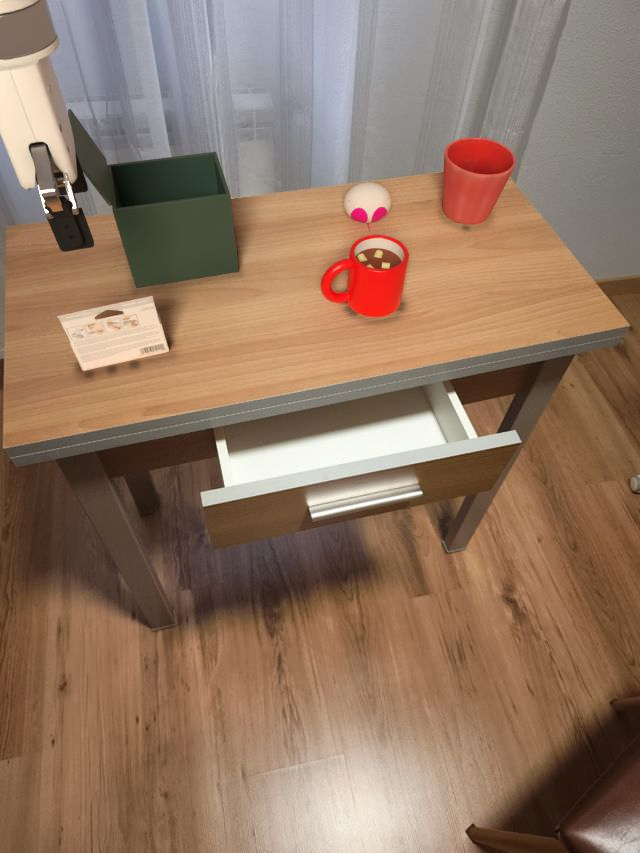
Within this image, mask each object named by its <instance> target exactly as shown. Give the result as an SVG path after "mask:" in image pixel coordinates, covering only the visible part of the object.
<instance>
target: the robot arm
mask: <svg viewBox="0 0 640 853" xmlns="http://www.w3.org/2000/svg"><path fill="white" fill-rule="evenodd" d="M59 46H60V39H59V35H58V32H57V29H56V26H55V22H54V20H53V16H52V13H51V10H50V7H49V3H48V0H0V137H1V139H2V142H3V145H4V148H5V150H6V153H7V155H8V157H9V159H10V163H11V165H12V167H13V170H14V172H15V175H16V177H17V180H18V182H19V185H20V186H21V187H22V188H23V189H24V190H26V191H31V189H35V188H36V186H37V189H38V193H39V195H40V199H41V203H42V207H43V209H44V213H45V218H46V220H47V222H48V224H49V227H50V229H51V232H52V234H53V236H54V238H55V240H56V243H57V245H58V248H59V250H60V251H61V252H64V253H66V252H72V251H78V250H85V249H92V248H93V247H95V240H94V237H93V234H92V232H91V229H90V227H89V224H88V221H87V218H86V214H85V212H84V209H83V207H79V205H78V201H77V198H76V194H80V193H86V192H88V190H89V185H88V183H87V180H86V177H85V176H86V175H85V174H84V173H83V171H82V168H81V165H80V162H79V159H78V156H77V153H75V144H74V137H73V133H72V128H71V124H70V120H69V116H68V109H67V106H66V103H65V99H64V97H63V96H64V95H63V93H62V90H61V87H60V84H59V80H58V78H57V75H56V72H55V69H54V66H53V63H52V60H51V57H50V55H52V54H53V53H55V52H56V50H57V49H58V48H59ZM66 196H67V197H66Z"/></svg>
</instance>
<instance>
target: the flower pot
mask: <svg viewBox="0 0 640 853" xmlns="http://www.w3.org/2000/svg"><path fill="white" fill-rule="evenodd" d="M515 167H516V157H515V154H514V153H513V152H512V150H511V149H510V148H509V147H507V146H506V145H504V144H502V143H500V142H499V141H496V140H493V139H489V138H484V137H464V138H459V139H456V140H453V141H452V142H450V143H449V144H448V145H447V146H446V147H445V149H444V153H443V170H442V171H443V172H442V174H443V176H442V211H443V213H444V215H445V216H446V217H447V218H449V219H450V220H452V221H453V222H455V223H461V224H463V225H471V226H472V225H478V224H482V223H484V222H485V221H487V220H488V218H489V217H490V216H491V213H492V211H493V210H494V208H495V206H496V204H497V202H498V200H499V199H500V197H501V195H502V194H503V191H504V189H505V187H506V185H507V183H508V181H509V179H510V177H511V175H512V173H513V171H514V169H515Z"/></svg>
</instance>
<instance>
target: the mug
mask: <svg viewBox="0 0 640 853" xmlns="http://www.w3.org/2000/svg"><path fill="white" fill-rule="evenodd" d="M348 256H349V257H345V258H342V259H340V260H338V261H336V262H334V263H332V265H330V266H329V267H328V268H327V270H326V271H325V272H324V274H323V275H322V278H321V281H320V292H321V294H322V296H323V297H324V298H325V299H326V300H327V301H329V302H330V303H335V304H342V303H347V304H348V306H349V307H350V308H351V309H352V310H353V311H354V312H356V313H357V314H359V315H362V316H364V317H370V318H381V317H386V316H389V315H391V314H393V313H395V312H396V311H397V310H398V309H399V307H400V305H401V302H402V297H403V291H404V287H405V280H406V276H407V270H408V264H409V259H410V258H409V256H410V253H409V249H408V248H407V247H406V245H405V244H404V243H403V242H401V241H400V240H398V239H397V238H394V237H391V236H388V235H384V234H370V235H369V234H368V235H366V236H362V237H360V238H358V239H356V240H355V241H354V242H353V243H352V245H351V246H350V249H349V255H348ZM346 270H347V280H346V281H347V282H346V291H343V292H337V291H334V290H333V288H332V284H333V281H334V280H335V278H336V277H337V276H338V275H339V274H340V273H342V272H343V271H346Z"/></svg>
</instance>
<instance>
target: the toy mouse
mask: <svg viewBox="0 0 640 853" xmlns="http://www.w3.org/2000/svg"><path fill="white" fill-rule="evenodd" d="M391 207H392V197H391V194H390V192H389V191H388V189H387V188H386V187H384V186H383V185H382V184H381V183H377V182H373V181H364V182H360V183H357V184H356V185H353V186H352V187H351V188H350V189H349V190H348V191H347V192H346V193H345V196H344V199H343V208H344V210H345V213H346V214H347V215H348V217H350V218H351V219H352V220H354V221H356V222H359V223H363V224H367V228H368V231H369V232H370V231H371V230H370V223H375V222H377V221H380V220H381V219H383V218H384V217H385V216H387V214H388V213H389V211H390V209H391Z"/></svg>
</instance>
